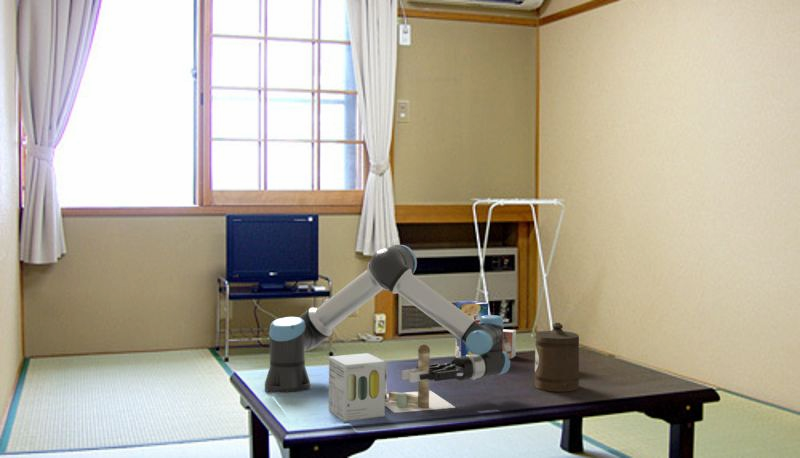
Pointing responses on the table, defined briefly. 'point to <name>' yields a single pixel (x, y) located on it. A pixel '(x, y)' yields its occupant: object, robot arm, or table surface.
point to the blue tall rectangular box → (475, 312)
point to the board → (434, 403)
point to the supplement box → (356, 386)
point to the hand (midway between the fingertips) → (406, 376)
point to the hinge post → (386, 383)
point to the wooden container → (557, 360)
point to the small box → (509, 342)
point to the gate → (423, 386)
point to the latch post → (401, 400)
